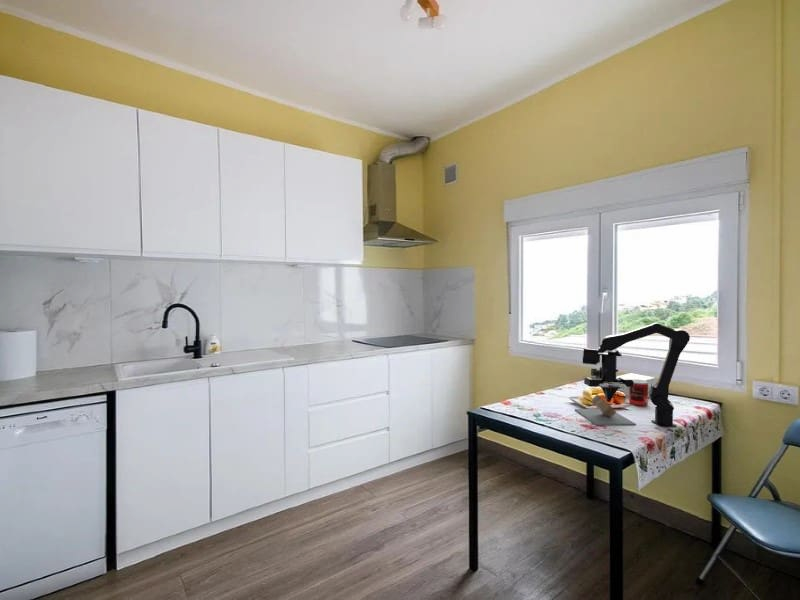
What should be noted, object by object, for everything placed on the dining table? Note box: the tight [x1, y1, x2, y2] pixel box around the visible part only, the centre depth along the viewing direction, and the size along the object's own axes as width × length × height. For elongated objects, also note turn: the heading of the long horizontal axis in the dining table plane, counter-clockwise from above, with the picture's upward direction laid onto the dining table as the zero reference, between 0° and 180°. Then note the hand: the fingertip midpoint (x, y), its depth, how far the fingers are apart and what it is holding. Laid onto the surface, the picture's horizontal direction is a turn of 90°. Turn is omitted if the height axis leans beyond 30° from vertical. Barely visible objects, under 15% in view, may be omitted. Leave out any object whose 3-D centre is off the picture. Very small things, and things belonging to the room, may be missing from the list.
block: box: [590, 394, 617, 418], centre depth 174 cm, size 6×4×8 cm
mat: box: [574, 408, 637, 426], centre depth 174 cm, size 20×16×1 cm
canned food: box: [628, 379, 649, 407], centre depth 193 cm, size 8×8×11 cm
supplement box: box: [616, 372, 656, 399], centre depth 209 cm, size 17×13×9 cm
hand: (608, 401), depth 174 cm, fingers closed
